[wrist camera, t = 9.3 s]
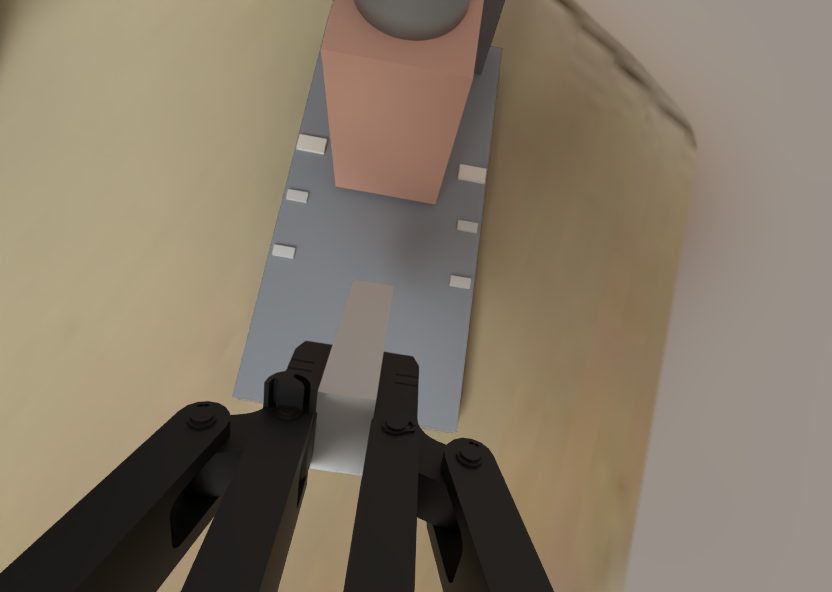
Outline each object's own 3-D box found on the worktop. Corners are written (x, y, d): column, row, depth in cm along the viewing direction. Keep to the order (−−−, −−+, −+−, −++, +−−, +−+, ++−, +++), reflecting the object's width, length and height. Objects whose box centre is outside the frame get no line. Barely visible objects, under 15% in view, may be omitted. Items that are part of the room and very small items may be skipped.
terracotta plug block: (435, 204, 25) (479, 56, 15) (335, 186, 25) (318, 23, 15) (450, 104, 27) (498, -85, 17) (357, 86, 26) (354, -116, 17)
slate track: (451, 432, 24) (488, 427, 17) (240, 399, 23) (185, 379, 16) (495, 67, 30) (536, -51, 23) (330, 34, 30) (320, -96, 22)
